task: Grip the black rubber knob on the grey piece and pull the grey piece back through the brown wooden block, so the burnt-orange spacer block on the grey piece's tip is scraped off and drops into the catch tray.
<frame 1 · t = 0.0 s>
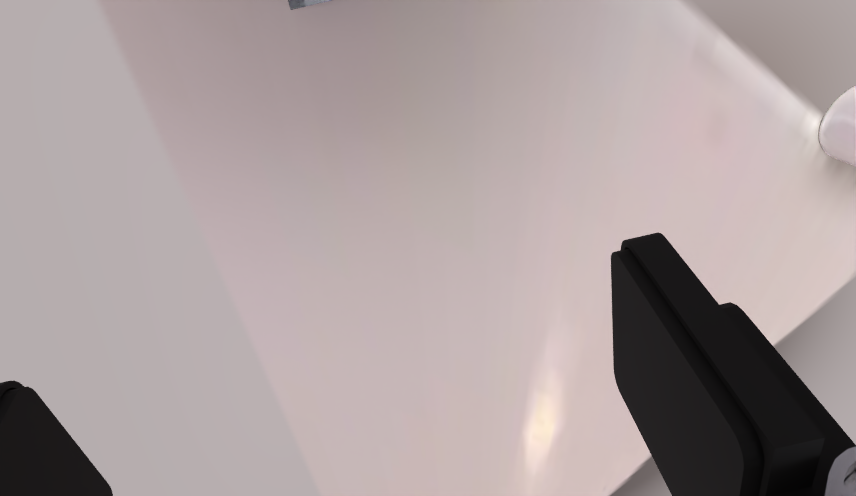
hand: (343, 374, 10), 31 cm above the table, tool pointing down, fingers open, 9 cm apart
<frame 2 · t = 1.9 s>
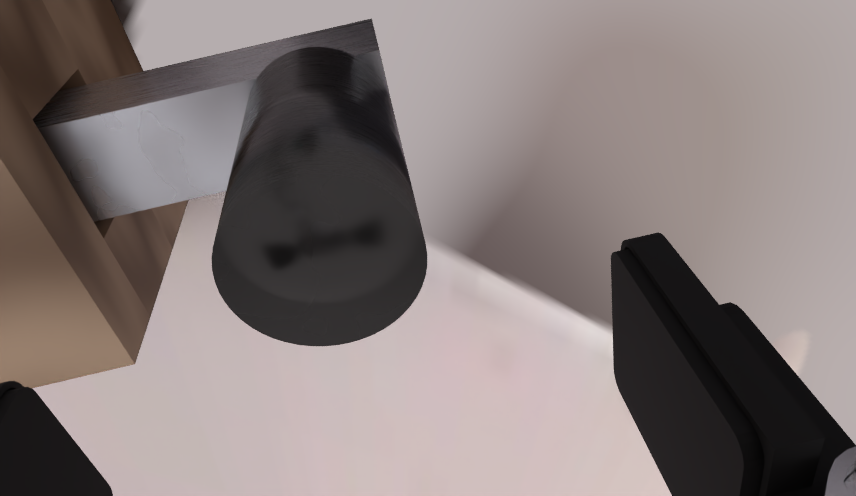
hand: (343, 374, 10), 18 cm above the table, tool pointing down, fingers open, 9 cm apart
brown wooden block: (92, 82, 25), on the table
grey piece: (31, 218, 16), point 11 cm above the table, slide at 0.0 cm, touching spacer block
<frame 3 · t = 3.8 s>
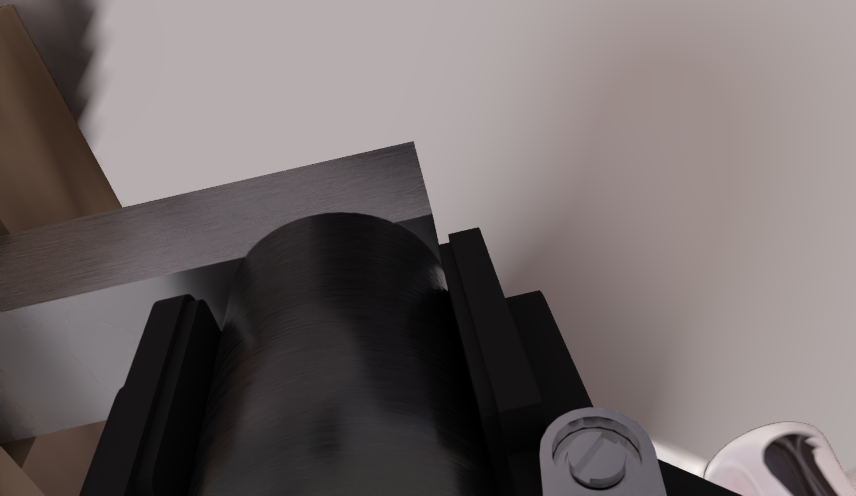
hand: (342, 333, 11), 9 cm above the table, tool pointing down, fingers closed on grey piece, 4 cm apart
beer glass: (760, 458, 32), on the table
brown wooden block: (39, 192, 19), on the table
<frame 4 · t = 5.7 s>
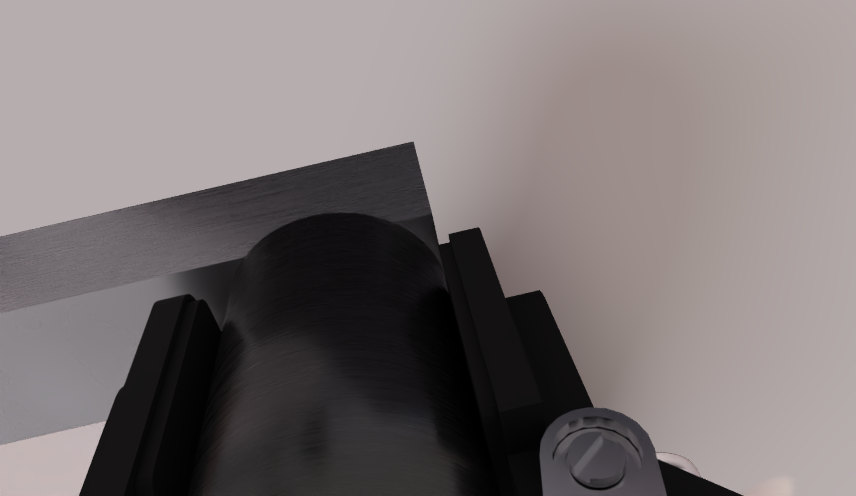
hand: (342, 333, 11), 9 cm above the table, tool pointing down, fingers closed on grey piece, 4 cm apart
beer glass: (635, 488, 32), on the table
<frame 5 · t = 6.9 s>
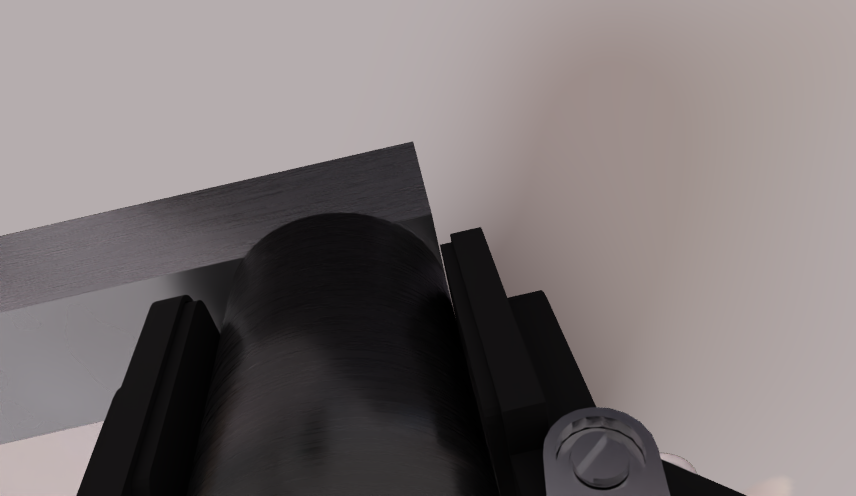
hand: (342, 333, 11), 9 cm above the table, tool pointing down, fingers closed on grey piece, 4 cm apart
beer glass: (633, 488, 32), on the table
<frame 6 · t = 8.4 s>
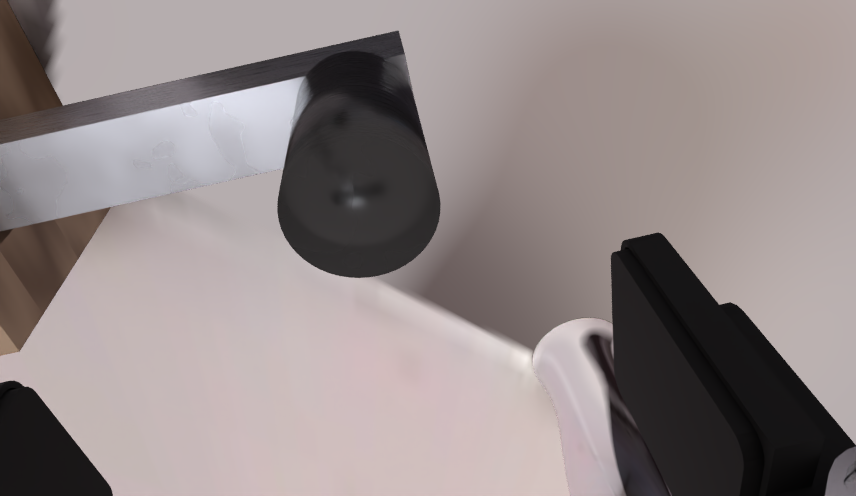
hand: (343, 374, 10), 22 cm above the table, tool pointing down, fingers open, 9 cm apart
beer glass: (577, 351, 41), on the table
brown wooden block: (21, 117, 29), on the table
grey piece: (124, 184, 20), point 11 cm above the table, slide at 6.5 cm
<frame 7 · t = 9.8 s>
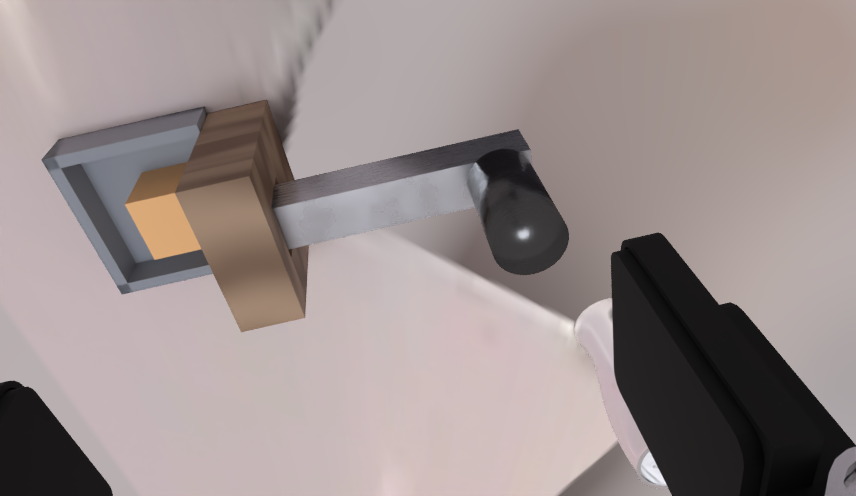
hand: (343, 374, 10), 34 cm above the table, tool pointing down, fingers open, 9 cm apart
spacer block: (211, 201, 43), point 3 cm above the table, tilted 90°, touching catch tray
catch tray: (165, 194, 45), on the table
beer glass: (605, 321, 58), on the table
brown wooden block: (262, 172, 45), on the table
grey piece: (380, 224, 37), point 11 cm above the table, slide at 6.5 cm
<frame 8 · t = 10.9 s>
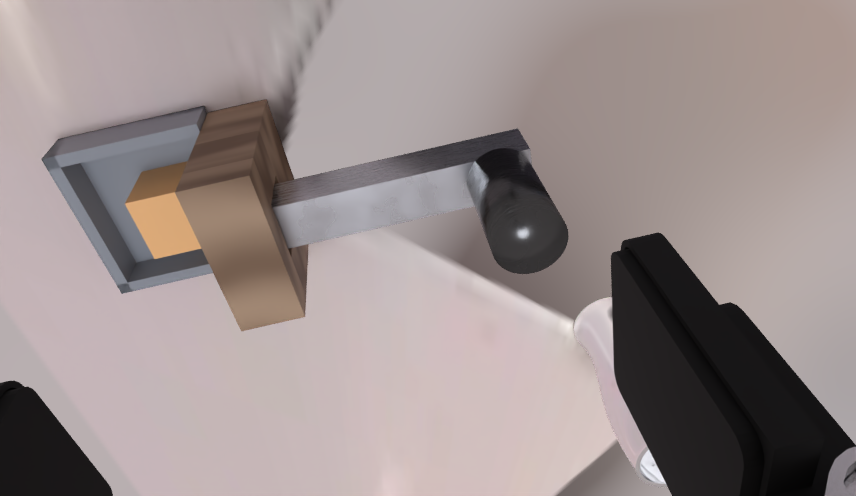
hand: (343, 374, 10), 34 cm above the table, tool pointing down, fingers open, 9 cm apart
spacer block: (211, 200, 43), point 3 cm above the table, tilted 90°, touching catch tray
catch tray: (165, 193, 45), on the table
beer glass: (604, 320, 58), on the table
brown wooden block: (261, 171, 45), on the table
grey piece: (380, 223, 37), point 10 cm above the table, slide at 6.5 cm
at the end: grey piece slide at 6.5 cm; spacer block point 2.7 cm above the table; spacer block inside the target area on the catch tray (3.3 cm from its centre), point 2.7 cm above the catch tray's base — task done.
